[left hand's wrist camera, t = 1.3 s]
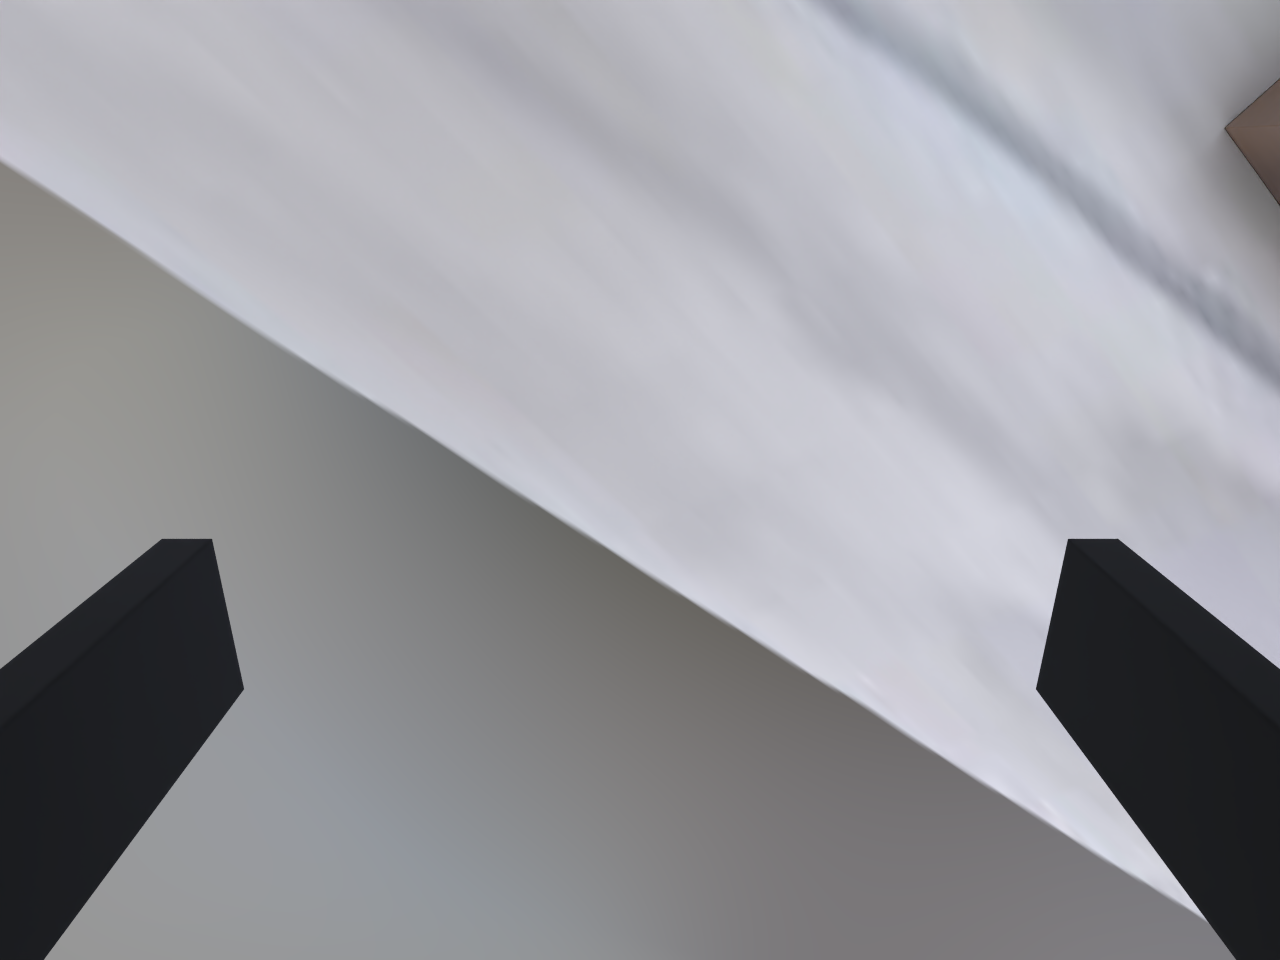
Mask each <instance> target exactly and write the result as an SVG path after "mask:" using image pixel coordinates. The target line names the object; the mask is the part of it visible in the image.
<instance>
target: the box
mask: <svg viewBox="0 0 1280 960" xmlns="http://www.w3.org/2000/svg"><path fill="white" fill-rule="evenodd" d="M1225 129H1226V130H1227V132H1228V133H1229V134H1230V136H1231V137H1232V139H1233V140H1234V141H1235V143H1236V144H1237V145H1238V147H1239V148H1240V150H1241V151H1242V152H1243V154H1244V155H1245V157H1246V158H1247V159H1248V161H1249V162H1250V164H1251V165H1252V166H1253V168H1254V169H1255V171H1256V172H1257V173H1258V175H1259V176H1260V178H1261V179H1262V180H1263V182H1264V183H1265V184H1266V186H1267V187H1268V189H1269V190H1270V191H1271V193H1272V194H1273V196H1274V197H1275V198H1276V200H1277V201H1278V203H1279V204H1280V79H1279V80H1278V81H1277V82H1276V83H1275V84H1274V85H1273V86H1272V87H1270V88H1269V89H1268V90H1267V91H1266V92H1265V93H1264V94H1263V95H1261V96H1260V97H1259V98H1258V99H1257V100H1256V101H1255V102H1254V103H1252V104H1251V105H1250V106H1249V107H1248V108H1247V109H1246V110H1245V111H1243V112H1242V113H1241V114H1240V115H1239V116H1238V117H1237V118H1236V119H1234V120H1233V121H1232V122H1231V123H1230V124H1229V125H1228V126H1227V127H1226V128H1225Z"/></svg>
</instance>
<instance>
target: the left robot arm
mask: <svg viewBox="0 0 1280 960" xmlns="http://www.w3.org/2000/svg"><path fill="white" fill-rule="evenodd" d="M243 690H244V687H243V682H242V677H241V673H240V668H239V663H238V659H237V654H236V649H235V645H234V640H233V635H232V631H231V626H230V621H229V617H228V612H227V607H226V603H225V598H224V593H223V588H222V584H221V579H220V575H219V570H218V565H217V560H216V556H215V551H214V546H213V542H212V539H161V540H160V541H159V542H158V543H156V544H155V545H154V546H153V547H151V548H150V549H149V550H148V551H146V552H145V553H144V554H143V555H141V556H140V557H139V558H138V559H137V560H135V561H134V562H133V563H131V564H130V565H129V566H128V567H127V568H125V569H124V570H123V571H122V572H120V573H119V574H118V575H117V576H115V577H114V578H113V579H112V580H110V581H109V582H108V583H107V584H105V585H104V586H103V587H102V588H101V589H99V590H98V591H97V592H96V593H94V594H93V595H92V596H91V597H89V598H88V599H87V600H86V601H84V602H83V603H82V604H81V605H79V606H78V607H77V608H76V609H74V610H73V611H72V612H71V613H69V614H68V615H67V616H66V617H64V618H63V619H62V620H61V621H59V622H58V623H57V624H56V625H54V626H53V627H52V628H51V629H50V630H48V631H47V632H46V633H45V634H43V635H42V636H41V637H40V638H38V639H37V640H36V641H35V642H33V643H32V644H31V645H30V646H28V647H27V648H26V649H25V650H23V651H22V652H21V653H20V654H18V655H17V656H16V657H15V658H13V659H12V660H11V661H10V662H9V663H7V664H6V665H5V666H4V667H2V668H1V669H0V960H44V959H45V957H46V956H47V955H48V953H49V952H50V951H51V949H52V948H53V947H54V945H55V944H56V942H57V941H58V940H59V938H60V937H61V936H62V934H63V933H64V932H65V930H66V929H67V928H68V926H69V925H70V924H71V922H72V921H73V920H74V918H75V917H76V915H77V914H78V913H79V911H80V910H81V909H82V907H83V906H84V905H85V903H86V902H87V901H88V899H89V898H90V897H91V895H92V894H93V892H94V891H95V890H96V888H97V887H98V886H99V884H100V883H101V882H102V880H103V879H104V878H105V876H106V875H107V874H108V872H109V871H110V870H111V868H112V867H113V865H114V864H115V863H116V861H117V860H118V859H119V857H120V856H121V855H122V853H123V852H124V851H125V849H126V848H127V847H128V845H129V844H130V842H131V841H132V840H133V838H134V837H135V836H136V834H137V833H138V832H139V830H140V829H141V828H142V826H143V825H144V824H145V822H146V821H147V820H148V818H149V817H150V815H151V814H152V813H153V811H154V810H155V809H156V807H157V806H158V805H159V803H160V802H161V801H162V799H163V798H164V797H165V795H166V794H167V793H168V791H169V790H170V788H171V787H172V786H173V784H174V783H175V782H176V780H177V779H178V778H179V776H180V775H181V774H182V772H183V771H184V769H185V768H186V767H187V765H188V764H189V763H190V761H191V760H192V759H193V757H194V756H195V755H196V753H197V752H198V751H199V749H200V748H201V747H202V745H203V744H204V743H205V741H206V740H207V738H208V737H209V736H210V734H211V733H212V732H213V730H214V729H215V728H216V726H217V725H218V724H219V722H220V721H221V720H222V718H223V717H224V715H225V714H226V713H227V711H228V710H229V709H230V707H231V706H232V705H233V703H234V702H235V701H236V699H237V698H238V697H239V695H240V694H241V692H242V691H243ZM1036 690H1037V691H1038V693H1039V694H1040V695H1041V697H1042V698H1043V699H1044V701H1045V702H1046V703H1047V705H1048V706H1049V707H1050V709H1051V710H1052V711H1053V713H1054V714H1055V715H1056V717H1057V718H1058V720H1059V721H1060V722H1061V724H1062V725H1063V726H1064V728H1065V729H1066V730H1067V732H1068V733H1069V734H1070V736H1071V737H1072V738H1073V740H1074V741H1075V743H1076V744H1077V745H1078V747H1079V748H1080V749H1081V751H1082V752H1083V753H1084V755H1085V756H1086V757H1087V759H1088V760H1089V761H1090V763H1091V764H1092V765H1093V767H1094V768H1095V770H1096V771H1097V772H1098V774H1099V775H1100V776H1101V778H1102V779H1103V780H1104V782H1105V783H1106V784H1107V786H1108V787H1109V788H1110V790H1111V791H1112V793H1113V794H1114V795H1115V797H1116V798H1117V799H1118V801H1119V802H1120V803H1121V805H1122V806H1123V807H1124V809H1125V810H1126V811H1127V813H1128V814H1129V815H1130V817H1131V818H1132V820H1133V821H1134V822H1135V824H1136V825H1137V826H1138V828H1139V829H1140V830H1141V832H1142V833H1143V834H1144V836H1145V837H1146V838H1147V840H1148V841H1149V842H1150V844H1151V845H1152V847H1153V848H1154V849H1155V851H1156V852H1157V853H1158V855H1159V856H1160V857H1161V859H1162V860H1163V861H1164V863H1165V864H1166V865H1167V867H1168V868H1169V870H1170V871H1171V872H1172V874H1173V875H1174V876H1175V878H1176V879H1177V880H1178V882H1179V883H1180V884H1181V886H1182V887H1183V888H1184V890H1185V891H1186V892H1187V894H1188V895H1189V897H1190V898H1191V899H1192V901H1193V902H1194V903H1195V905H1196V906H1197V907H1198V909H1199V910H1200V911H1201V913H1202V914H1203V915H1204V917H1205V918H1206V920H1207V921H1208V922H1209V924H1210V925H1211V926H1212V928H1213V929H1214V930H1215V932H1216V933H1217V934H1218V936H1219V937H1220V938H1221V940H1222V941H1223V942H1224V944H1225V945H1226V947H1227V948H1228V949H1229V951H1230V952H1231V953H1232V955H1233V956H1234V957H1235V959H1236V960H1280V669H1279V668H1278V667H1276V666H1275V665H1274V664H1273V663H1271V662H1270V661H1269V660H1268V659H1267V658H1265V657H1264V656H1263V655H1262V654H1260V653H1259V652H1258V651H1257V650H1255V649H1254V648H1253V647H1252V646H1250V645H1249V644H1248V643H1247V642H1245V641H1244V640H1243V639H1242V638H1240V637H1239V636H1238V635H1237V634H1235V633H1234V632H1233V631H1232V630H1230V629H1229V628H1228V627H1227V626H1226V625H1224V624H1223V623H1222V622H1221V621H1219V620H1218V619H1217V618H1216V617H1214V616H1213V615H1212V614H1211V613H1209V612H1208V611H1207V610H1206V609H1204V608H1203V607H1202V606H1201V605H1199V604H1198V603H1197V602H1196V601H1194V600H1193V599H1192V598H1191V597H1190V596H1188V595H1187V594H1186V593H1185V592H1183V591H1182V590H1181V589H1180V588H1178V587H1177V586H1176V585H1175V584H1173V583H1172V582H1171V581H1170V580H1168V579H1167V578H1166V577H1165V576H1163V575H1162V574H1161V573H1160V572H1158V571H1157V570H1156V569H1155V568H1153V567H1152V566H1151V565H1150V564H1149V563H1147V562H1146V561H1145V560H1144V559H1142V558H1141V557H1140V556H1139V555H1137V554H1136V553H1135V552H1134V551H1132V550H1131V549H1130V548H1129V547H1127V546H1126V545H1125V544H1124V543H1122V542H1121V541H1120V540H1119V539H1068V542H1067V546H1066V551H1065V556H1064V560H1063V565H1062V570H1061V574H1060V579H1059V584H1058V588H1057V593H1056V598H1055V603H1054V607H1053V612H1052V617H1051V621H1050V626H1049V631H1048V635H1047V640H1046V645H1045V649H1044V654H1043V659H1042V663H1041V668H1040V673H1039V677H1038V682H1037V687H1036Z"/></svg>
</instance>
